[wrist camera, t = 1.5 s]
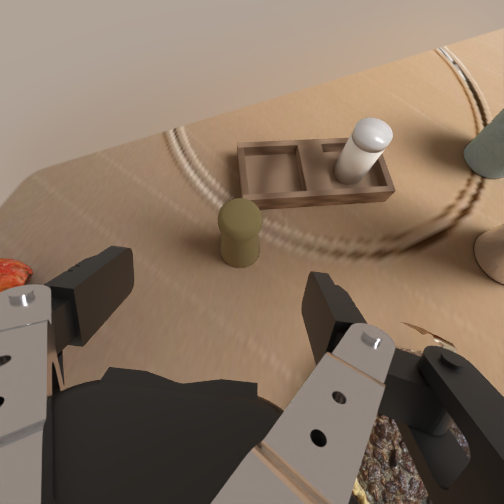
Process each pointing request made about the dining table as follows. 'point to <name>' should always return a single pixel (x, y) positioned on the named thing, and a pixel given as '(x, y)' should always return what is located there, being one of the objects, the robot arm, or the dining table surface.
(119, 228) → the dining table surface
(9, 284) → the pomegranate
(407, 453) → the pie
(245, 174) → the cruet caddy
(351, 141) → the salt shaker
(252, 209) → the olive mushroom knob
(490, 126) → the teal cup
